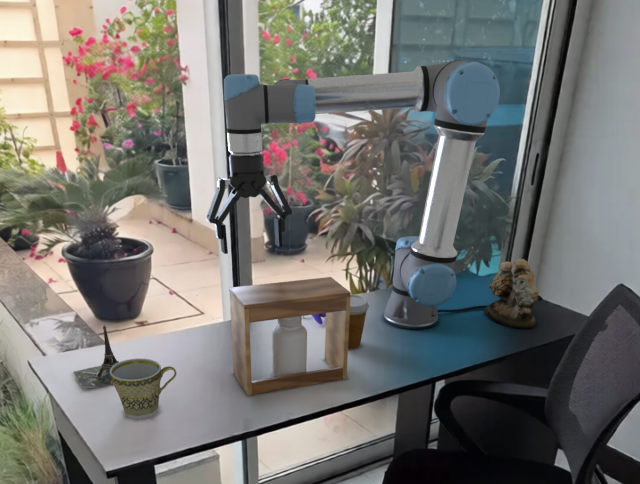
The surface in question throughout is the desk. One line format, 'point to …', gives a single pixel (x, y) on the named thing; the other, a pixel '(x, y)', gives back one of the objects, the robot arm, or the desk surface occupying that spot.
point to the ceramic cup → (139, 386)
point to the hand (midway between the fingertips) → (252, 249)
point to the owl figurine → (513, 295)
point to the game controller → (318, 317)
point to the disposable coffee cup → (356, 320)
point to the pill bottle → (289, 347)
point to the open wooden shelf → (285, 304)
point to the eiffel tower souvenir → (98, 369)
